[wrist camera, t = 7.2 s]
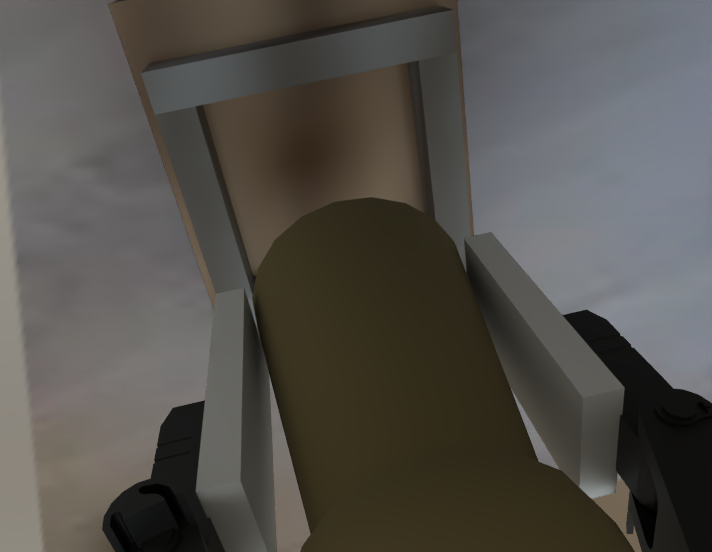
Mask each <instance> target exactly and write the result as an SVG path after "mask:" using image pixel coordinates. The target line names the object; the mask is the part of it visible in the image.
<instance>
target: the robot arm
mask: <svg viewBox="0 0 712 552" xmlns="http://www.w3.org/2000/svg"><path fill="white" fill-rule="evenodd" d="M464 246H465V258H466V270H467V276H468V279H469V281H470V284H471V286H472V289H473V292H474V294H475V297H476V299H477V302H478V305H479V307H480V310H481V312H482V315H483V318H484V320H485V323H486V326H487V328H488V331H489V333H490V336H491V339H492V341H493V344H494V346H495V349H496V352H497V354H498V357H499V360H500V362H501V365H502V367H503V370H504V373H505V375H506V378H507V380H508V383H509V385H510V387H511V389H512V390H513V392H514V394H515V395H516V397H517V399H518V400H519V402H520V404H521V405H522V407H523V409H524V410H525V412H526V414H527V415H528V417H529V419H530V420H531V422H532V424H533V425H534V427H535V429H536V431H537V432H538V434H539V436H540V437H541V439H542V441H543V442H544V444H545V446H546V447H547V449H548V451H549V452H550V454H551V456H552V457H553V459H554V461H555V462H556V464H557V466H558V467H559V469H560V470H561V471H563V472H564V473H565V474H566V475H567V476H568V477H569V478H570V479H571V480H572V481H573V482H574V483H575V484H576V485H577V486H578V487H579V488H580V489H582V490H583V491H584V492H585V493H586V494H587V495H588V496H589V497H590V498H591V499H592V498H596V497H600V496H604V495H608V494H611V493H615V492H616V484H617V472H618V474H619V475H620V476H621V478H622V479H623V481H624V482H625V483H626V485H627V486H628V488H629V489H630V493H629V503H628V514H627V523H626V527H627V534H633V527H634V526H635V529H636V533H637V536H638V539H639V543H640V547H641V550H642V552H712V403H711V402H709V401H708V400H706V399H704V398H703V397H701V396H700V395H698V394H695V393H692V392H689V391H686V390H682V389H673V388H672V387H671V386H670V385H669V384H668V383H667V381H666V380H665V379H664V378H663V377H662V376H661V375H660V374H659V373H658V372H657V371H656V370H655V369H654V368H653V367H652V366H651V365H650V364H649V363H648V362H647V361H646V360H645V359H644V358H643V357H642V356H641V355H640V354H639V353H638V352H637V351H636V350H635V349H634V348H632V347H631V344H630V343H629V342H628V341H627V340H626V339H625V338H624V337H623V336H622V337H621V336H620V333H619V332H618V331H617V330H616V329H615V328H614V327H613V326H612V325H611V324H610V323H609V322H608V321H607V320H606V319H604V318H602V317H600V316H598V315H596V314H594V313H592V312H590V311H588V310H583V311H579V312H575V313H570V314H566V315H562V314H561V313H560V312H559V311H558V310H557V308H556V307H555V306H554V305H553V304H552V303H551V301H550V300H549V299H548V298H547V297H546V296H545V295H544V293H543V292H542V291H541V290H540V289H539V288H538V286H537V285H536V284H535V283H534V282H533V281H532V279H531V278H530V277H529V276H528V275H527V274H526V272H525V271H524V270H523V269H522V268H521V267H520V265H519V264H518V263H517V262H516V261H515V260H514V258H513V257H512V256H511V255H510V254H509V253H508V251H507V250H506V249H505V248H504V247H503V246H502V244H501V243H500V242H499V241H498V240H497V239H496V237H495V236H494V235H493V234H492V233H491V232H489V233H484V234H480V235H475V236H471V237H467V238H464ZM157 446H158V448H156V454H155V459H154V461H155V464H153V469H152V475H151V479H148V480H145V481H142V482H139V483H137V484H135V485H133V486H132V487H130V488H128V489H127V490H125V491H124V492H122V493H121V494H120V495H119V496H118V497H117V498H116V499H115V500H114V501H113V502H112V503H111V505H110V507H109V509H108V510H107V512H106V514H105V516H104V520H103V527H102V530H103V532H104V533H105V535H106V537H107V538H108V540H109V542H110V543H111V545H112V547H113V548H114V550H115V552H277V543H276V520H275V497H274V474H273V451H272V428H271V405H270V382H269V371H268V367H267V363H266V359H265V355H264V351H263V347H262V343H261V340H260V337H259V334H258V330H257V327H256V324H255V321H254V317H253V314H252V311H251V308H250V304H249V301H248V298H247V295H246V292H245V288H239V289H235V290H231V291H226V292H222V293H217V294H216V298H215V308H214V318H213V328H212V337H211V347H210V357H209V366H208V376H207V386H206V395H205V401H201V402H196V403H192V404H188V405H184V406H179V407H175V408H173V409H172V410H171V412H170V413H169V415H168V416H167V418H166V419H165V421H164V422H163V424H162V425H161V428H160V433H159V438H158V443H157Z"/></svg>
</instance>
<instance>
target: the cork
mask: <svg viewBox="0 0 712 552" xmlns="http://www.w3.org/2000/svg"><path fill="white" fill-rule="evenodd" d="M252 301H253V307H254V312H255V317H256V323H257V328H258V332H259V336H260V340H261V343H262V347H263V351H264V355H265V359H266V363H267V367H268V371H269V374H270V378H271V382H272V386H273V390H274V394H275V398H276V401H277V405H278V409H279V413H280V417H281V421H282V425H283V429H284V432H285V436H286V440H287V444H288V448H289V452H290V456H291V459H292V463H293V467H294V471H295V475H296V479H297V483H298V487H299V490H300V494H301V498H302V502H303V506H304V510H305V514H306V517H307V521H308V525H309V529H310V533H311V535H310V536H309V538H308V539H307V541H306V542H305V543H304V545H303V546H302V548H301V552H635V551H634V550H633V548H632V546H631V545H630V543H629V542H628V541H627V539H626V537H625V536H624V534H623V533H622V531H621V530H620V528H619V527H618V525H617V524H616V523H615V522H614V521H613V520H612V519H611V518H610V517H609V516H608V515H607V514H606V513H605V512H604V511H603V510H602V509H601V508H600V507H599V506H598V505H597V504H596V503H595V502H594V501H593V500H592V499H591V498H590V497H589V496H588V495H587V494H586V493H585V492H584V491H583V490H582V489H580V488H579V487H578V486H577V485H576V484H575V483H574V482H573V481H572V480H571V479H570V478H569V477H568V476H567V475H566V474H565V473H564V472H563V471H561V470H558V469H556V468H553V467H550V466H548V465H545V464H543V463H540V462H539V461H538V459H537V456H536V454H535V451H534V448H533V446H532V443H531V440H530V438H529V435H528V433H527V430H526V427H525V425H524V422H523V420H522V417H521V414H520V412H519V409H518V407H517V404H516V401H515V399H514V396H513V393H512V391H511V388H510V386H509V383H508V380H507V378H506V375H505V373H504V370H503V367H502V365H501V362H500V360H499V357H498V354H497V352H496V349H495V346H494V344H493V341H492V339H491V336H490V333H489V331H488V328H487V326H486V323H485V320H484V318H483V315H482V312H481V310H480V307H479V305H478V302H477V299H476V297H475V294H474V292H473V289H472V286H471V284H470V281H469V279H468V276H467V273H466V271H465V268H464V265H463V263H462V260H461V258H460V255H459V252H458V250H457V247H456V245H455V242H454V241H453V240H452V238H451V237H450V236H449V235H448V234H447V233H446V231H445V230H444V229H443V228H442V227H441V226H440V225H439V223H438V222H437V221H436V220H435V219H434V218H432V217H430V216H428V215H427V214H425V213H423V212H421V211H419V210H418V209H416V208H414V207H412V206H410V205H408V204H407V203H402V202H397V201H391V200H385V199H380V198H374V197H368V198H360V199H352V200H344V201H336V202H333V203H331V204H329V205H326V206H324V207H322V208H320V209H317V210H315V211H313V212H311V213H308V214H306V215H304V216H302V217H300V218H299V219H298V220H297V221H296V222H295V223H294V224H292V225H291V226H290V227H289V228H288V229H287V230H286V231H284V232H283V233H282V234H281V235H280V236H279V237H278V238H276V239H275V240H274V242H273V244H272V245H271V247H270V249H269V250H268V252H267V254H266V256H265V257H264V259H263V261H262V262H261V264H260V266H259V267H258V270H257V275H256V281H255V286H254V291H253V297H252Z"/></svg>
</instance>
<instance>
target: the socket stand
mask: <svg viewBox="0 0 712 552" xmlns="http://www.w3.org/2000/svg"><path fill="white" fill-rule="evenodd" d="M108 6H109V9H110V12H111V15H112V17H113V20H114V23H115V26H116V29H117V32H118V35H119V38H120V40H121V43H122V46H123V49H124V52H125V55H126V58H127V61H128V63H129V66H130V69H131V72H132V75H133V78H134V81H135V84H136V86H137V89H138V92H139V95H140V98H141V101H142V104H143V107H144V109H145V112H146V115H147V118H148V121H149V124H150V127H151V130H152V132H153V135H154V138H155V141H156V144H157V147H158V150H159V153H160V155H161V158H162V161H163V164H164V167H165V170H166V173H167V176H168V178H169V181H170V184H171V187H172V190H173V193H174V196H175V199H176V201H177V204H178V207H179V210H180V213H181V216H182V219H183V222H184V224H185V227H186V230H187V233H188V236H189V239H190V242H191V245H192V247H193V250H194V253H195V256H196V259H197V262H198V265H199V268H200V270H201V273H202V276H203V279H204V282H205V285H206V288H207V291H208V293H209V296H210V299H211V302H212V305H213V308H215V298H216V294H217V293H222V292H226V291H231V290H235V289H239V288H245V292H246V295H247V298H248V301H249V304H250V308H251V311H252V314H253V317H254V321H255V324H256V327H257V323H256V317H255V312H254V307H253V301H252V297H253V291H254V286H255V281H256V275H257V270H258V267H259V266H260V264H261V262H262V261H263V259H264V257H265V256H266V254H267V252H268V250H269V249H270V247H271V245H272V244H273V242H274V240H275V239H276V238H278V237H279V236H280V235H281V234H282V233H283V232H284V231H286V230H287V229H288V228H289V227H290V226H291V225H292V224H294V223H295V222H296V221H297V220H298V219H299V218H300V217H302V216H304V215H306V214H308V213H311V212H313V211H315V210H317V209H320V208H322V207H324V206H326V205H329V204H331V203H333V202H336V201H344V200H352V199H360V198H368V197H374V198H380V199H385V200H391V201H397V202H402V203H407V204H408V205H410V206H412V207H414V208H416V209H418V210H419V211H421V212H423V213H425V214H427V215H428V216H430V217H432V218H434V219H435V220H436V221H437V222H438V223H439V225H440V226H441V227H442V228H443V229H444V230H445V231H446V233H447V234H448V235H449V236H450V237H451V238H452V240H453V241H454V242H455V245H456V247H457V250H458V252H459V255H460V258H461V260H462V263H463V265H464V268H465V271H466V273H467V270H466V258H465V246H464V238H467V237H471V236H474V230H473V216H472V202H471V188H470V174H469V160H468V146H467V132H466V118H465V104H464V91H463V77H462V63H461V49H460V35H459V21H458V7H457V0H119V1H115V2H112V3H109V4H108ZM257 330H258V328H257ZM258 334H259V332H258ZM259 337H260V336H259Z"/></svg>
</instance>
